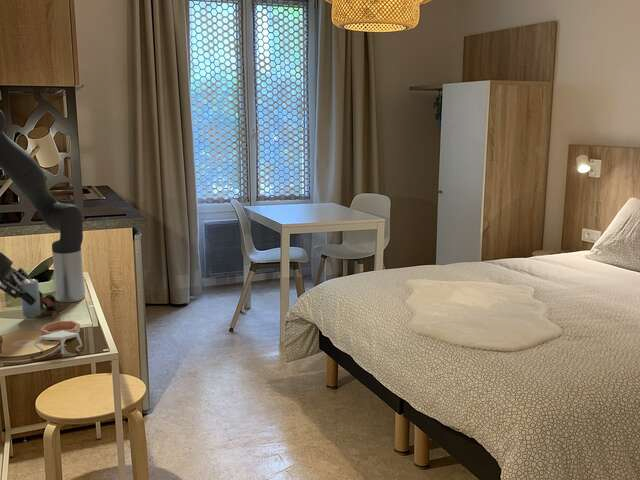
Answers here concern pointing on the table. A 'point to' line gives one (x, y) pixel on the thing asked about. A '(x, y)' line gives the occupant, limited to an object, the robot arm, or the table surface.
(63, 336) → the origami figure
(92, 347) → the table surface
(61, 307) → the table surface
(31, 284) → the pebble cup
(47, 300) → the pottery mug
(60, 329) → the terracotta bowl
